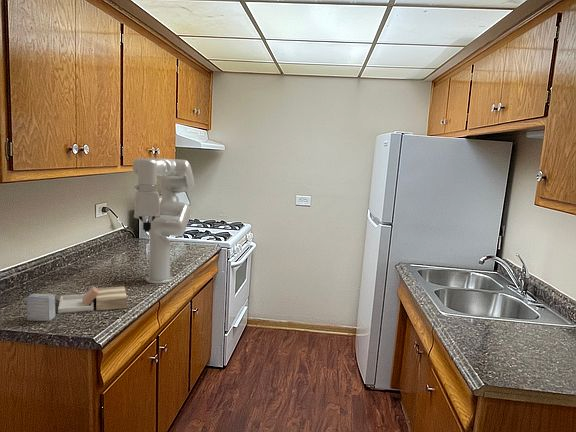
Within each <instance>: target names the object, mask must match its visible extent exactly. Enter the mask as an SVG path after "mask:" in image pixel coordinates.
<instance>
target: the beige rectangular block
mask: <svg viewBox="0 0 576 432" xmlns="http://www.w3.org/2000/svg"><path fill="white" fill-rule="evenodd" d="M96 288H97V287H96ZM97 289H98V292H99V294H98V295H97V296H96V297H95V299H96V301H95V303H96V305H95V306H96V307H95V308H96V311H107V310H108V311H109V310H116V309H117V310H119V309H121V310H122V309H127V308H128V296H127V291H126V287H125V286H113V287H98V288H97Z"/></svg>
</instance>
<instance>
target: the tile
mask: <svg viewBox="0 0 576 432" xmlns="http://www.w3.org/2000/svg"><path fill="white" fill-rule="evenodd" d="M84 294H85V295H84V296H83V298H82V302H83V303H84V304H86V305H87V306H88V305H89V304H90V303H91V302H92V300H93V299H94V300H95V299H96V296H97V295H98V294H99V292H98V289H97V287H96V286H94V285H93V286H91V288H89V290H88V291H87V292H86V293H84Z"/></svg>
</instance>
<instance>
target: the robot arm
mask: <svg viewBox="0 0 576 432" xmlns="http://www.w3.org/2000/svg"><path fill="white" fill-rule="evenodd" d="M132 171H133V173H134V174H135V175H136V176H137V185H134V186H133V187H134V190H137V191H136V192H135V195H134V196H135V198H134V205H133V206H134V210H133V211H134V214H133V218H134V219H138V220H140V221H141V222H142V230H143V231H144V232H145V233H148V235H149V236H148V237H149V238H148V239H149V256H148V257H149V259H148V260H149V261H148V263H149V267H148V268H149V271H148V272H149V274H148V276H147V277H145V282H147V283H148V284H167V283H170V282H172V281H174V277H173V276H172V275H170V274H171V242H170V240H169V238H167V236H174V237H181V236H183V235H184V234H185V232H186V230H187V226H188V223H189V221H190V216H191V208H190V205H189V204H188V203H187V202H182V201H181V202H180V199H179V197H178V195H177V194H176V193H175V192H186V193H187V192H189V193H190V192H191V191H193V190H194V189H195V177H194V175H193V170H192V167H191V164H190V162H189V161H188V160H186V159H175V158H165V157H164V158H163V157H162V158H158V157H157V158H156V157H155V158H148V157H147V158H146V157H145V158H144V157H143V158H141V157H138V158H136V159H134V161H133V162H132ZM158 177H161V178H160V180H159V183H160V184H159V187H160V193H161V200H160V193H159V192H158V191H157V189H158V188H157V187H158V186H157V184H158V183H157V181H158V179H157V178H158ZM146 217H148V218H147V220H146Z"/></svg>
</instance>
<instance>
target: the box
mask: <svg viewBox="0 0 576 432" xmlns="http://www.w3.org/2000/svg"><path fill="white" fill-rule="evenodd" d="M85 294H86V293H84V294H69V295H67V294H66V295H61V296H60V298H59V303H58V307H57V314H58V315H59V314H72V313H82V312H94V311H95V310H94V309H95V307H94V306H95V305H94V304H95V302H94V300H95V298H94V299H93V300H92V302H91V303H90V304H89V305H88V306H87V305H86V304H84V303H83V302H82V298H83V296H84V295H85Z"/></svg>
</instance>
